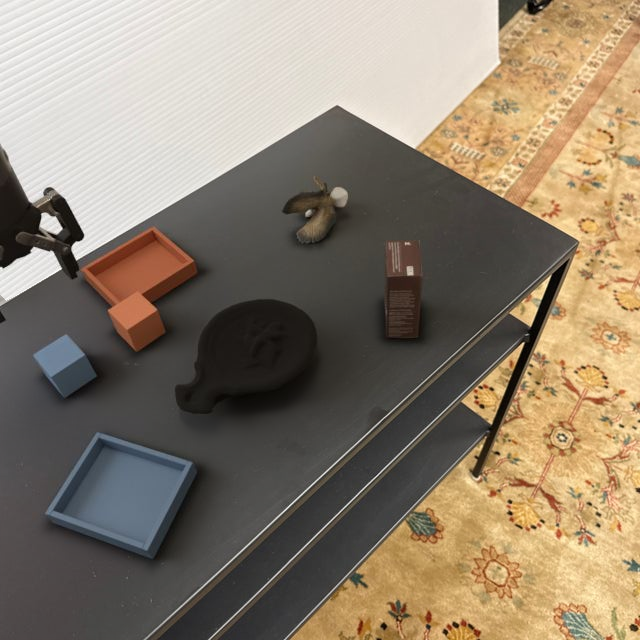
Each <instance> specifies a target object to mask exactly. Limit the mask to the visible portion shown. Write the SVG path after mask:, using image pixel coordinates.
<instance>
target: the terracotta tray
mask: <svg viewBox="0 0 640 640" xmlns="http://www.w3.org/2000/svg"><path fill="white" fill-rule="evenodd" d="M80 270H81V272H82V274H83V277H84V278H85V281H86V282H87V283H88V284H89V285H90V286H91V287H92V288H93V290H95V291H96V292H97V293H98V294H99V295H100V296H101V297H102V299H104V300H105V301H106V302H107V303H108V304H109V305H110V306H111V308H112V307H114V306H115V305H117V304H118V303H120V302H121V301H123V300H125V299H126V298H128V297H129V296H131V295H133V294H134V293H136V292H137V291H138V292H139V293H140V294H141V295H142V296H143V297H144V298H146V299H147V300H148V301H149V302H150V303H151V304H152V303H153V302H155V301H156V300H158V299H160V298H162V296H164V295H166V294H167V293H169V292H171V291H172V290H174V289H175V288H177V287H178V286H180V285H181V284H183V283H184V282H187V281H188V280H189V279H191V278H192V277H194V276H195V275H197V274H198V272H199V271H198V269H197V266H196V262H195V260H194V259H193V258H191V257H190V256H189V255H188V254H187V253H186V252H185V251H184V250H182V249H181V248H180V247H179V246H178V245H176V244H175V243H174V242H173V241H171V239H169V238H168V237H167V236H165V235H164V233H163V232H161V231H160V230H158V229H157V228H156V227H155V226H152V227H150V228H148V229H146V230H144V231H143V232H141V233H139V234H138V235H137V236H135V237H133V238H131V239H129V240H128V241H126V242H124V243H123V244H121V245H119V246H118V247H116V248H114V249H113V250H111V251H109V252H107V253H106V254H104V255H102V256H101V257H98V258H97V259H95V260H94V261H92V262H90V263H89V264H87V265H85V266H83V267H82V268H80Z"/></svg>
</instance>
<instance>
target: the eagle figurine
mask: <svg viewBox="0 0 640 640" xmlns="http://www.w3.org/2000/svg"><path fill="white" fill-rule="evenodd" d="M313 181H314V183H315V184H316V185H317V187H318V188H319V190H317V191H313V190H312V191H300V192H298V193H296V194H294V195H293V196H291V197H290V198H288V199H287V201H285V203H284V204H283V206H282V209H281V212H282V214H284V215H285V216H286V215H291V214H299V213H301V214H302V213H304V212H305V216H304V218H310V217H311V218H310V219H309V220H308V221H307V222H306V224H305V225H304V226H303V227H301V228H300V229H299V230H298V231H297V232H296V233H295V234H296V239H298V242H299V243H301V244H311V243H313V244H314V243H316V242H320V241H322V239H324V238H325V237H326V236H327V233H328V232H329V231H330V229H331V227H333V225H334V224H335V223H336V221H337V218H338V216H337V213H336V210H335V207H336V208H344V207H346V205H347V203H348V200H349V192H347V190H346V189H345V188H343V187H341V186H334V188H333V189H332V190H331V191H328V184H327V182H326V181H324V182H322V183H321V182H320V181H319V179H318V177H317V176H316V175H313Z"/></svg>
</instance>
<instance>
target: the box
mask: <svg viewBox="0 0 640 640" xmlns="http://www.w3.org/2000/svg"><path fill="white" fill-rule="evenodd" d="M420 242H421V241H420V240H418V239H414V240H413V239H411V240H408V239H407V240H386V241H385V254H384V255H385V263H384V267H385V269H384V314H385V316H384V317H385V337H386V338H387V339H393V338H394V339H413V338H415V339H416V338H418V337H419V330H420V329H419V328H420V316H421V303H422V291H423V266H422V259H423V258H422V252H421V243H420Z"/></svg>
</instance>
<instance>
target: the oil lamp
mask: <svg viewBox="0 0 640 640" xmlns="http://www.w3.org/2000/svg"><path fill="white" fill-rule="evenodd" d="M318 336H319V335H318V332H317V327H316V325H315V322H314V321H313V319H312V318H311V316H309V314H308V313H306V311H304V310H303V309H302V308H299V307H297V306H296V305H294V304H292V303H290V302H286V301H282V300H277V299H273V298H258V299H252V300H245V301H242V302H238V303H235V304H232V305H230V306H228V307H226V308H224V309H222V310H221V311H219V312H217V313H216V314H215V315H214V316H213V317H212V318H210V319H209V321H208V322H207V324H206V325H205V326H204V328H203V329H202V331H201V334H200V336H199V339H198V343H197V358H196V361H194V363H193V367H194V370H195V376H194V379H193V380H191V382H189V383H185V384H179V383H178V384H176V385H175V386H174V397H175V403H176V405H177V406H178V407H179V409H180V410H181V411H182V412H184V413H189V414H193V415H211V414H212V413H214V408H215V406H216V405H218V404H219V403H222V402H223V401H225V400H229V399H231V398H234V397H241V396H245V395H250V394H261V393H266V392H269V391H272V390H275V389H277V388H279V387H281V386H284V385H285V384H287V383H289V382H290V381H292V380H293V379H295V378H296V377H297V376H299V375H300V374H301V373H302V372H303V371H304V370H305V369H306V368H307V366H308V365H309V364H310V362H311V361H312V359H313V357H314V355H315V352H316V349H317V344H318Z"/></svg>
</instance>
